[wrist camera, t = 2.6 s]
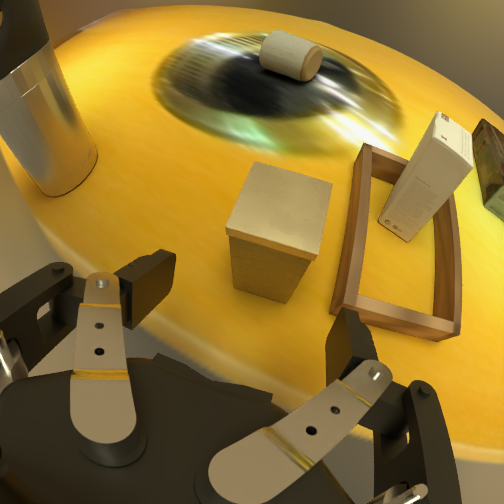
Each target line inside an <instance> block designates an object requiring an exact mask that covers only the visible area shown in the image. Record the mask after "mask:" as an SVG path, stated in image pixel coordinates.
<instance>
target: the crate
mask: <svg viewBox="0 0 504 504" xmlns="http://www.w3.org/2000/svg"><path fill="white" fill-rule="evenodd" d="M408 162H409V161H408V160H406V159H403V158H401V157H399V156H396V155H394V154H392V153H389V152H387V151H384V150H382V149H379V148H377V147H374V146H371V145H369V144H366V143H363V145H362V148H361V150H360V152H359V154H358V156H357V159H356V161H355V163H354V171H353V180H352V188H351V196H350V204H349V211H348V218H347V224H346V231H345V237H344V243H343V248H342V254H341V259H340V265H339V270H338V275H337V280H336V285H335V289H334V294H333V299H332V303H331V307H330V312H329V314H332V315H335V316H337V315H338V313H339V311H340V309H341V308H342V307H345V308H348V309H352V310H355V311H358V314H359V318H360V321H361V323H365V324H368V325H372V326H376V327H380V328H384V329H387V330H391V331H395V332H399V333H403V334H407V335H411V336H415V337H419V338H424V339H428V340H432V341H436V342H438V341H442V340H445V339H449V338H452V337H455V336H458V335H460V328H461V312H462V265H461V248H460V236H459V227H458V219H457V211H456V205H455V199H454V193H452V195H451V196H450V197H449V198H448V199H447V200H446V202H445V203H444V204H443V205H442V206H441V207H440V208H439V210H438V211H437V212H436V213H435V214H434V215H433V217H434V233H435V293H434V308H433V316H431V315H427V314H424V313H420V312H417V311H414V310H410V309H407V308H403V307H400V306H396V305H393V304H390V303H386V302H383V301H379V300H376V299H373V298H369V297H366V296H363V295H359V294H358V290H359V284H360V278H361V271H362V265H363V258H364V250H365V242H366V234H367V224H368V214H369V202H370V187H371V176H374V177H376V178H379V179H381V180H384V181H387V182H389V183H392V184H394V185H395V184H396V182H397V181H398V179H399V177H400V176H401V174H402V172H403V171H404V169H405V167H406V166H407V164H408Z"/></svg>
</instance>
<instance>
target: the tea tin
mask: <svg viewBox="0 0 504 504" xmlns="http://www.w3.org/2000/svg"><path fill="white" fill-rule="evenodd" d="M331 190H332V183H329V182H326V181H322V180H319V179H316V178H313V177H309V176H306V175H303V174H299V173H296V172H292V171H289V170H285V169H282V168H278V167H274V166H271V165H267V164H263V163H259V162H255V161H254V163H253V165H252V168H251V170H250V172H249V174H248V176H247V179H246V181H245V183H244V185H243V188H242V190H241V192H240V194H239V197H238V199H237V201H236V204H235V206H234V208H233V210H232V213H231V215H230V217H229V220H228V222H227V224H226V235H229V242H230V253H231V264H232V275H233V285H234V288H236V289H239V290H242V291H245V292H248V293H251V294H255V295H258V296H261V297H264V298H267V299H271V300H274V301H277V302H280V303H284V304H286V303H287V301H288V300H289V298H290V297H291V295H292V293H293V292H294V290H295V288H296V287H297V285H298V283H299V281H300V280H301V278H302V276H303V275H304V273H305V271H306V270H307V268H308V266H309V264H310V263H311V261H314V260H315V259H316V257H317V255H318V252H319V248H320V243H321V239H322V234H323V230H324V225H325V220H326V215H327V210H328V205H329V200H330V195H331Z"/></svg>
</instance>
